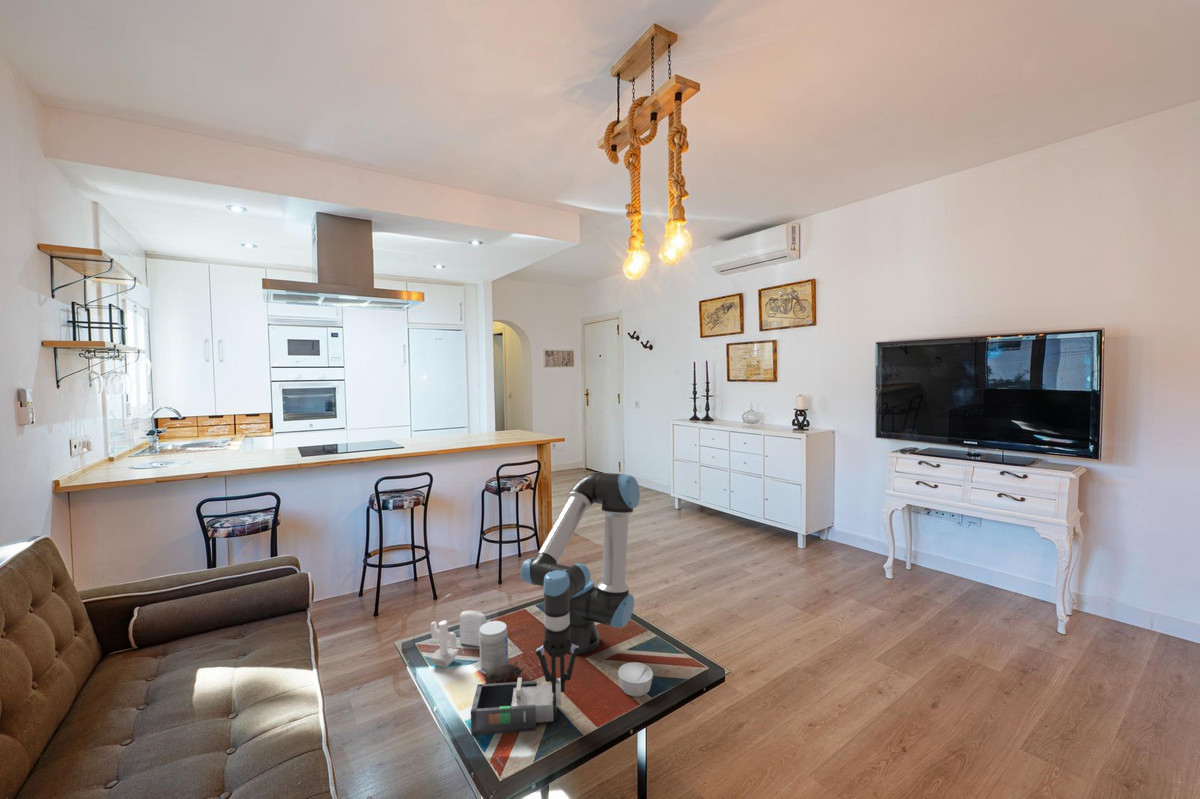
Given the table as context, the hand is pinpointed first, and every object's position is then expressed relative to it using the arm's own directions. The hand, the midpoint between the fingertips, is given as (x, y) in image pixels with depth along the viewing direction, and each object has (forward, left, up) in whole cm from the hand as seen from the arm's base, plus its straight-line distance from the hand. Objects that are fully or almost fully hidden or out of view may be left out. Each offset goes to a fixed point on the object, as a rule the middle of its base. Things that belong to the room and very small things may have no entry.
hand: (558, 701), depth 147 cm
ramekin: (-25, -10, -4) cm, 27 cm away
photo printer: (+32, -42, -4) cm, 53 cm away
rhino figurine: (+18, -17, -4) cm, 25 cm away
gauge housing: (+16, 0, -4) cm, 16 cm away
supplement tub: (+22, -25, -4) cm, 34 cm away
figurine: (+40, -30, -4) cm, 50 cm away
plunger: (+7, 0, -3) cm, 8 cm away
